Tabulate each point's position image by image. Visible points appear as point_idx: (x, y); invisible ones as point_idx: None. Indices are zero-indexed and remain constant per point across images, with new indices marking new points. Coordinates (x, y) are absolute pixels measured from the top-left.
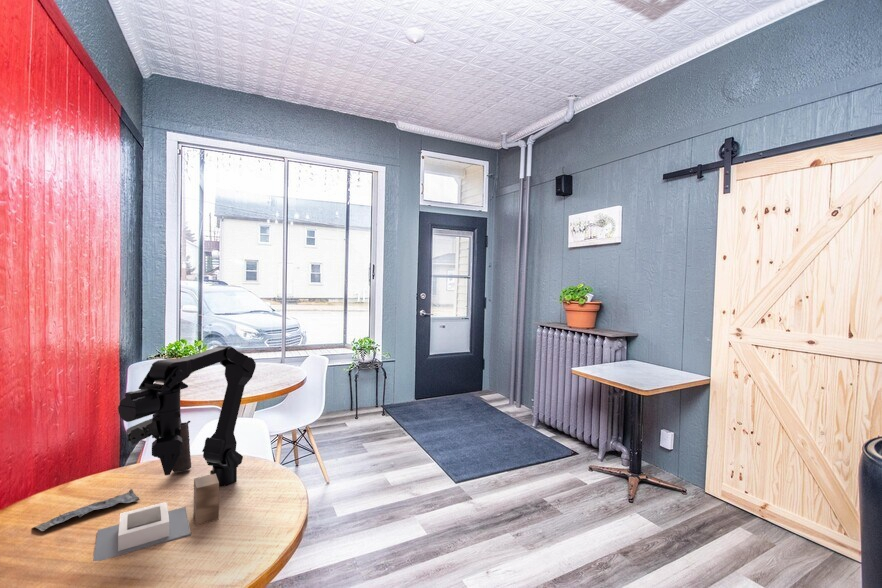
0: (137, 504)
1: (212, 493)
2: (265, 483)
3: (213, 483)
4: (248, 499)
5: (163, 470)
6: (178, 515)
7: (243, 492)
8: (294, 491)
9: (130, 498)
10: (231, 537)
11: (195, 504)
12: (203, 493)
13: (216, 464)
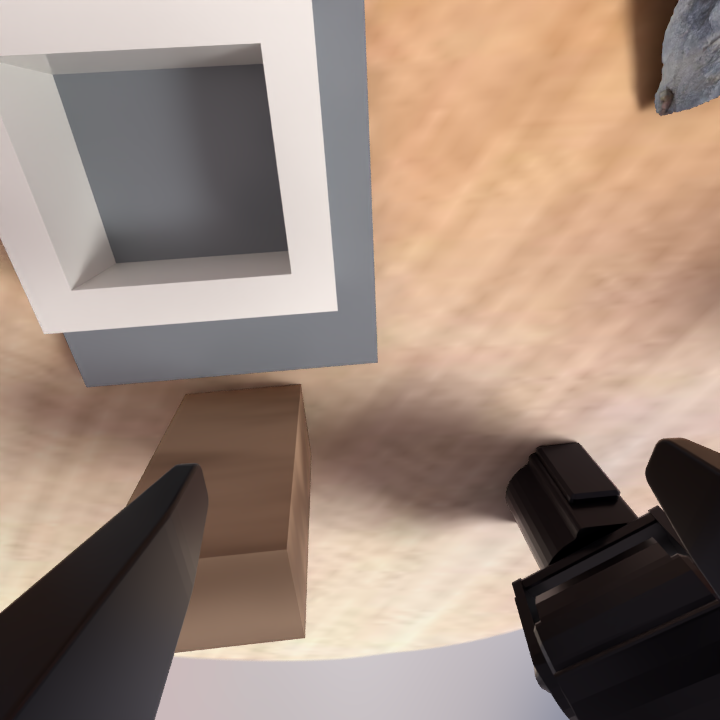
0: (622, 105)
1: None
2: (428, 594)
3: None
4: (332, 550)
5: (114, 518)
6: (296, 334)
7: (402, 539)
8: (310, 651)
9: (715, 49)
10: (51, 501)
11: (197, 454)
12: None
13: (609, 548)
